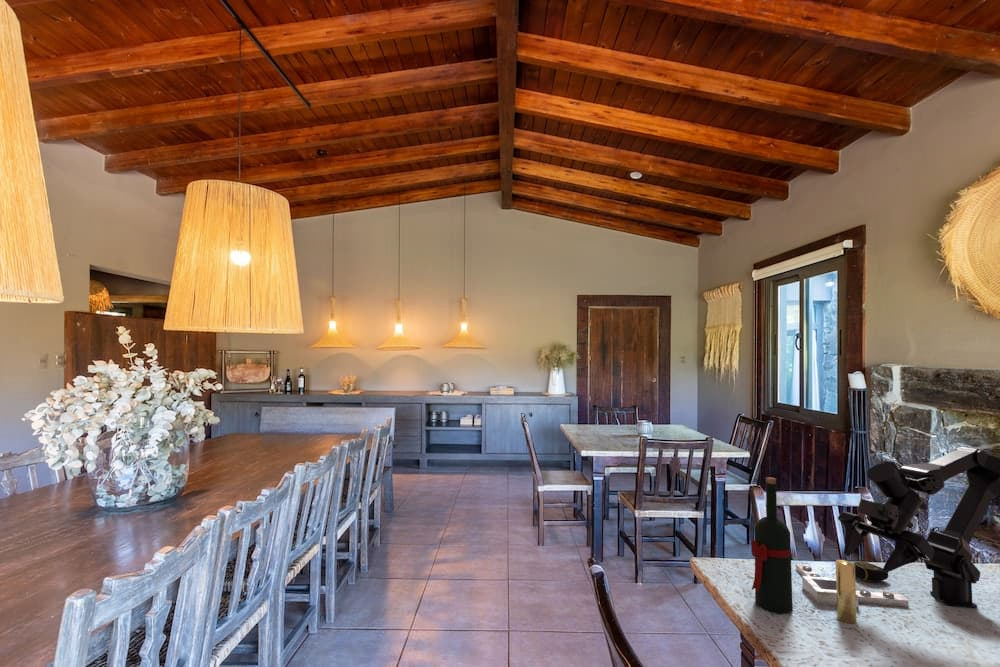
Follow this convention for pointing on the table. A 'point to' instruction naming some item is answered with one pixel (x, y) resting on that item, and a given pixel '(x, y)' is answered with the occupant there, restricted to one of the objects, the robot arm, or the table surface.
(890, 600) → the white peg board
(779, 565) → the wine bottle
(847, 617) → the gold metal cylinder
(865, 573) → the tape measure
